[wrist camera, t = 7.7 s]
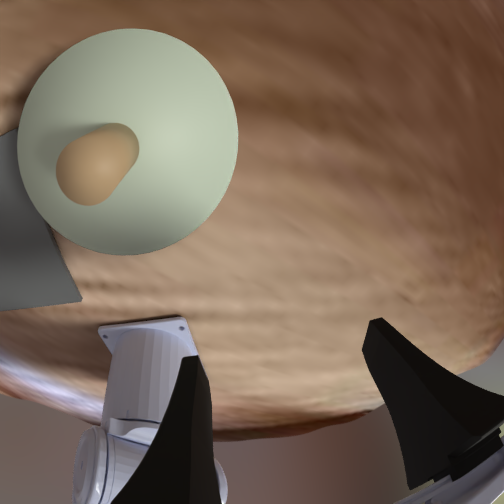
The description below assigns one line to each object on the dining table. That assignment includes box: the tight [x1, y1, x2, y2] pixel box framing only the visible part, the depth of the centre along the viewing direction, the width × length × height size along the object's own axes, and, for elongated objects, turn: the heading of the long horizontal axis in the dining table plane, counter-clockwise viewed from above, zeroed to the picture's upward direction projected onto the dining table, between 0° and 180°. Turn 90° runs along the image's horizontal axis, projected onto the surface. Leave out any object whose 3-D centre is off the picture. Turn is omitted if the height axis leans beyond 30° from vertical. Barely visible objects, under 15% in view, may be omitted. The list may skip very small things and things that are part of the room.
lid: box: [17, 29, 238, 255], centre depth 10 cm, size 11×11×4 cm
